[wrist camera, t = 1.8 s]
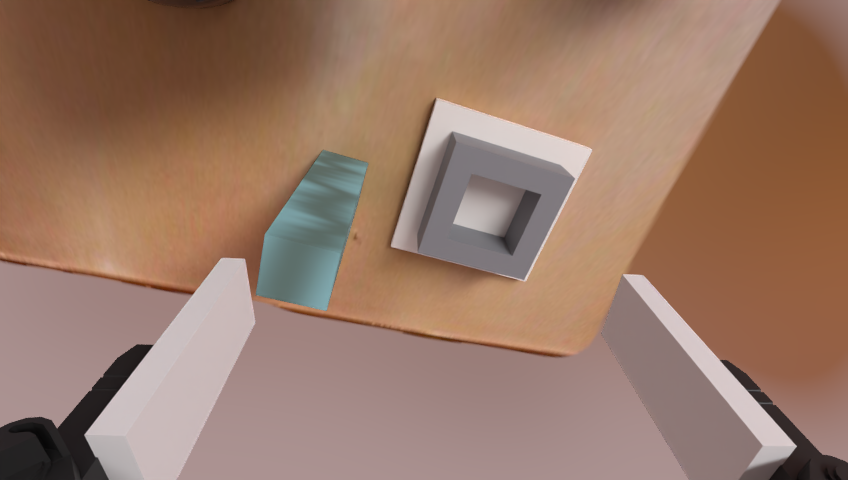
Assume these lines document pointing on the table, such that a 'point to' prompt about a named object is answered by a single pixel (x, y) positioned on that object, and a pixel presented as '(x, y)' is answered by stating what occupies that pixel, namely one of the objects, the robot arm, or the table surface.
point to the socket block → (486, 191)
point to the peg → (312, 233)
